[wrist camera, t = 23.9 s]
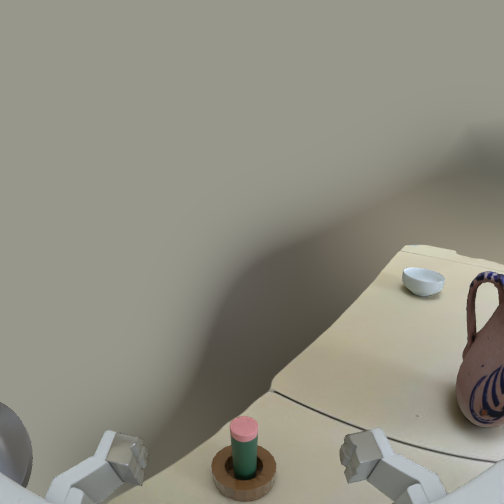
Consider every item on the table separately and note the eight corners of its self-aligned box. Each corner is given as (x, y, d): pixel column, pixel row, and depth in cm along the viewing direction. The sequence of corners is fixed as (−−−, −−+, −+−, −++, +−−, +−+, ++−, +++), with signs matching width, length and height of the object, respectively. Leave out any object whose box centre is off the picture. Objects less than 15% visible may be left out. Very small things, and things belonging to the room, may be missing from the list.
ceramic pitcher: (503, 454, 18) (581, 318, 12) (415, 414, 35) (463, 279, 29) (518, 397, 28) (565, 284, 22) (446, 368, 45) (479, 258, 38)
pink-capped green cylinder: (240, 488, 25) (238, 439, 22) (230, 474, 27) (225, 421, 24) (259, 480, 26) (263, 429, 23) (249, 467, 29) (249, 412, 25)
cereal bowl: (448, 301, 77) (453, 282, 75) (409, 302, 79) (414, 282, 77) (429, 284, 93) (432, 267, 91) (393, 283, 95) (396, 266, 93)
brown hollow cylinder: (231, 509, 22) (229, 499, 21) (205, 468, 28) (201, 454, 27) (285, 485, 26) (288, 473, 25) (254, 450, 32) (255, 435, 31)
